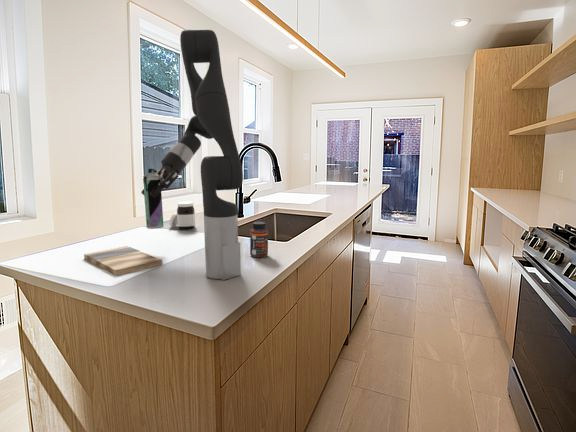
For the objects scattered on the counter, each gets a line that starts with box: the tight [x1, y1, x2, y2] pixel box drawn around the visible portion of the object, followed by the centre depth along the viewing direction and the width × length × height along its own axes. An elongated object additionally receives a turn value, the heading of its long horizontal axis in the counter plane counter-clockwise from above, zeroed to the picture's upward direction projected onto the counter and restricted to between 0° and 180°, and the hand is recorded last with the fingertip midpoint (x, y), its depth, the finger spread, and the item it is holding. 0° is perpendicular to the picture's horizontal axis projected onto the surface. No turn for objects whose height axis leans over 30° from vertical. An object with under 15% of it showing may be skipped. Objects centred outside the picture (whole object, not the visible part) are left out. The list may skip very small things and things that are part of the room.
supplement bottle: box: [249, 221, 269, 259], centre depth 123 cm, size 6×6×11 cm
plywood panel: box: [83, 245, 163, 276], centre depth 117 cm, size 24×14×2 cm, turn 48°
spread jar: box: [168, 201, 196, 231], centre depth 167 cm, size 12×11×12 cm
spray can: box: [142, 168, 164, 230], centre depth 126 cm, size 6×6×20 cm
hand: (148, 195), depth 124 cm, fingers closed on spray can, 5 cm apart
